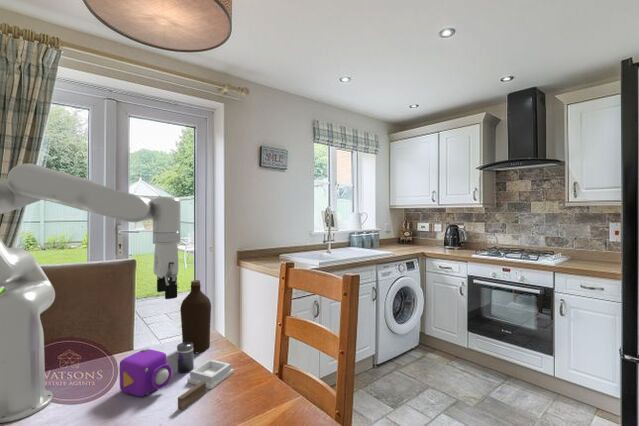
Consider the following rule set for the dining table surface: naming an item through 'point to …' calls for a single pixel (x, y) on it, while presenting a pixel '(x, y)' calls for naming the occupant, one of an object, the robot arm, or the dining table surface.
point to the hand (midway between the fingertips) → (166, 294)
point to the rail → (191, 395)
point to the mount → (210, 373)
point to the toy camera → (144, 372)
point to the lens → (185, 357)
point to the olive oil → (196, 318)
